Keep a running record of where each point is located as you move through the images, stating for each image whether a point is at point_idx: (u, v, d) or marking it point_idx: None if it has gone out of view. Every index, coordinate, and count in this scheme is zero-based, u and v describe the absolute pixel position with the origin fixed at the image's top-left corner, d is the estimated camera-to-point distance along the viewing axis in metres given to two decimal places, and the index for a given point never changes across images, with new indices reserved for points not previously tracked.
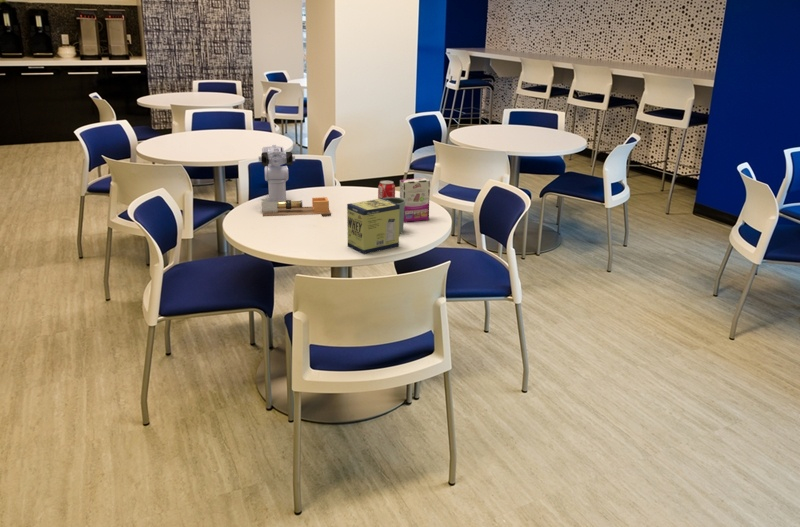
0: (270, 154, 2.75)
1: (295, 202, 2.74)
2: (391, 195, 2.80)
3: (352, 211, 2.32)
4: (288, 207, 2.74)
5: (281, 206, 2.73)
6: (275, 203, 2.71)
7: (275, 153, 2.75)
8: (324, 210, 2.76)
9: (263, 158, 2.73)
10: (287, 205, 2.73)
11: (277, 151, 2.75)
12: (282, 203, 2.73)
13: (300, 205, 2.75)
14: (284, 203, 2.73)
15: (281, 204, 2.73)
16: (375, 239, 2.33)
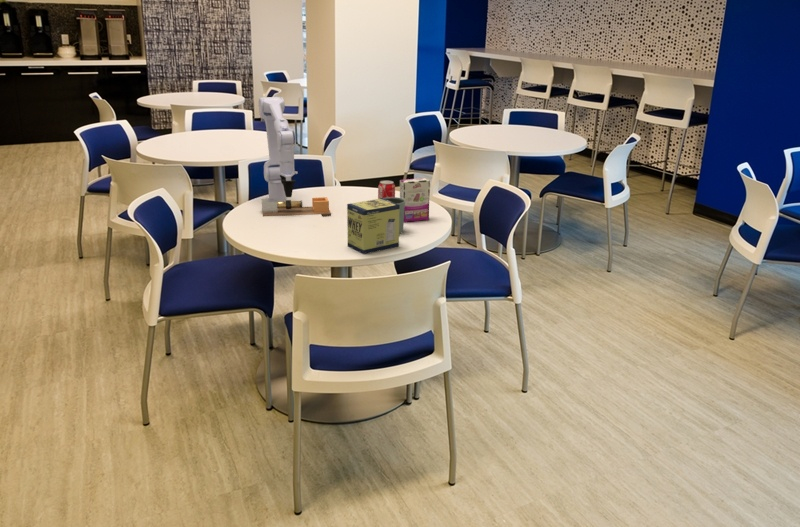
0: None
1: (295, 202, 2.74)
2: (391, 195, 2.80)
3: (352, 211, 2.32)
4: (288, 207, 2.74)
5: (281, 206, 2.73)
6: (275, 203, 2.71)
7: None
8: (324, 210, 2.76)
9: None
10: (287, 205, 2.73)
11: None
12: (282, 203, 2.73)
13: (300, 205, 2.75)
14: (284, 203, 2.73)
15: (281, 204, 2.73)
16: (375, 239, 2.33)
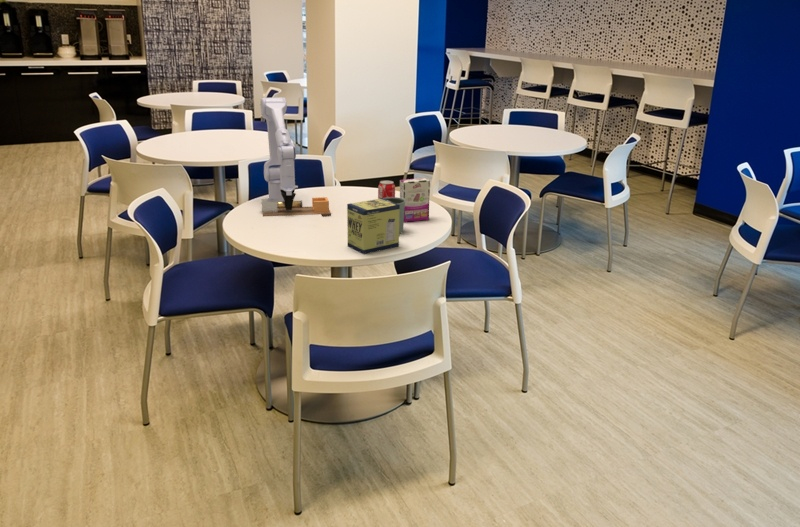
0: (292, 189, 2.71)
1: (295, 202, 2.74)
2: (391, 195, 2.80)
3: (352, 211, 2.32)
4: None
5: (281, 206, 2.73)
6: (275, 203, 2.71)
7: None
8: (324, 210, 2.76)
9: None
10: None
11: None
12: (282, 203, 2.73)
13: (300, 205, 2.75)
14: (284, 203, 2.73)
15: (281, 204, 2.73)
16: (375, 239, 2.33)
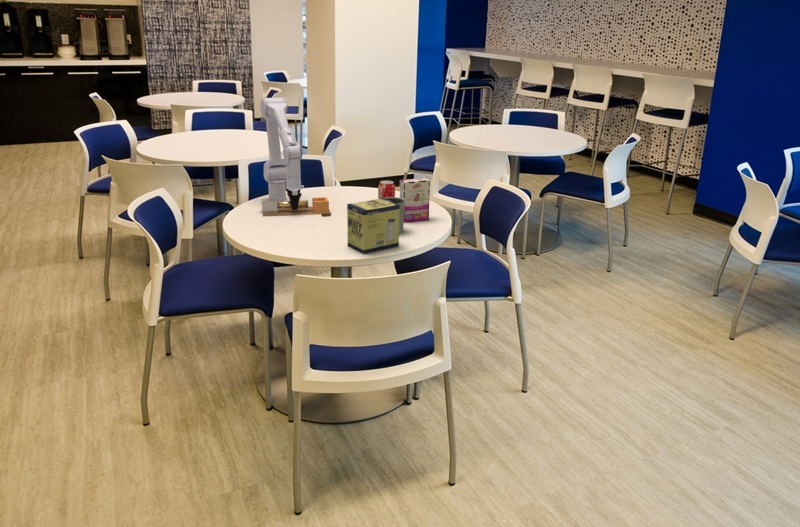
0: None
1: (301, 202, 2.75)
2: (391, 195, 2.80)
3: (352, 211, 2.32)
4: None
5: (287, 206, 2.74)
6: (275, 203, 2.71)
7: None
8: (324, 210, 2.76)
9: None
10: None
11: None
12: (288, 203, 2.74)
13: (306, 205, 2.75)
14: (290, 203, 2.74)
15: (287, 204, 2.74)
16: (375, 239, 2.33)
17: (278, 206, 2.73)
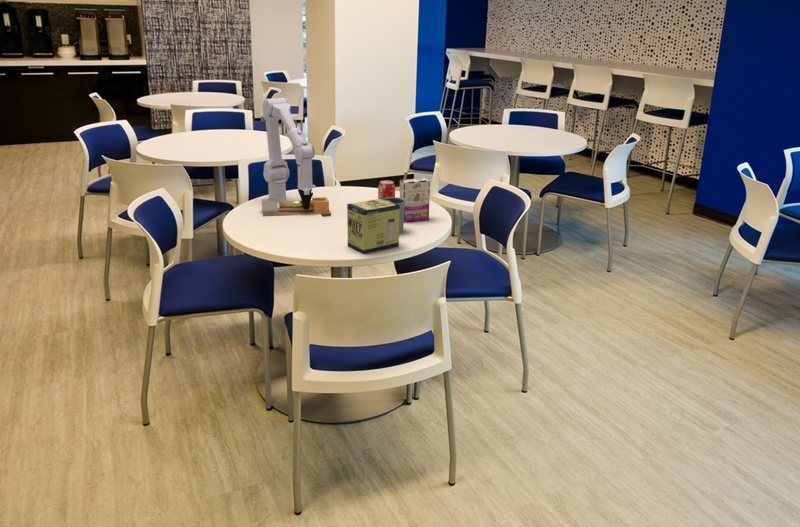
0: None
1: (312, 201, 2.76)
2: (391, 195, 2.80)
3: (352, 211, 2.32)
4: None
5: (298, 205, 2.75)
6: (275, 203, 2.71)
7: None
8: (324, 210, 2.76)
9: None
10: None
11: None
12: (299, 202, 2.75)
13: None
14: (301, 202, 2.75)
15: (298, 204, 2.74)
16: (375, 239, 2.33)
17: (289, 206, 2.74)
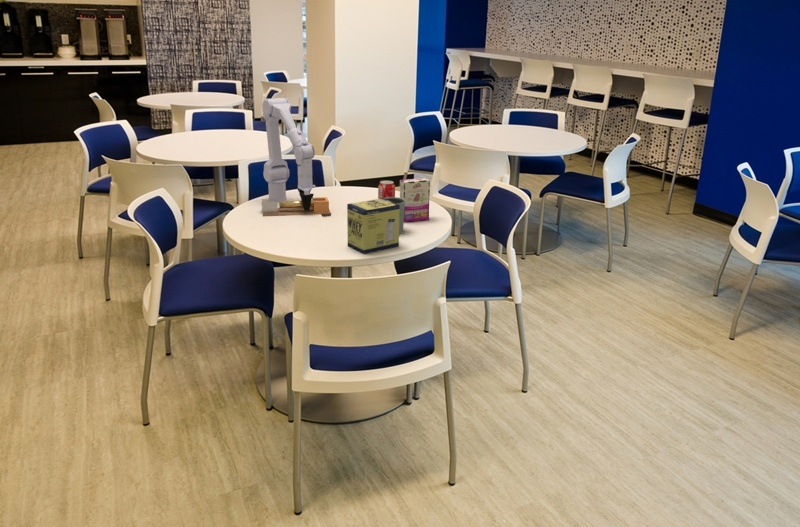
0: None
1: (312, 201, 2.76)
2: (391, 195, 2.80)
3: (352, 211, 2.32)
4: None
5: (298, 205, 2.75)
6: (275, 203, 2.71)
7: None
8: (324, 210, 2.76)
9: None
10: None
11: None
12: (300, 202, 2.75)
13: None
14: (301, 202, 2.75)
15: (298, 204, 2.74)
16: (375, 239, 2.33)
17: (290, 206, 2.74)
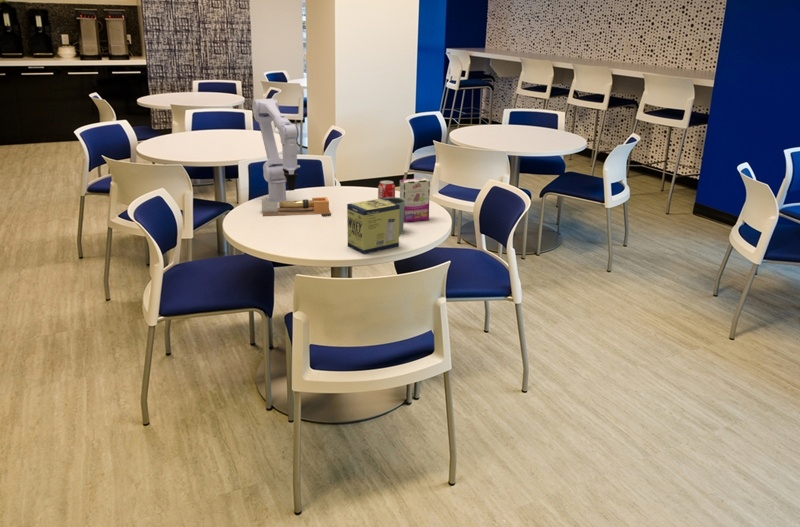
0: (294, 169, 2.73)
1: (312, 201, 2.76)
2: (391, 195, 2.80)
3: (352, 211, 2.32)
4: (305, 206, 2.75)
5: (298, 205, 2.75)
6: (275, 203, 2.71)
7: (295, 167, 2.75)
8: (324, 210, 2.76)
9: None
10: (304, 204, 2.75)
11: None
12: (300, 202, 2.75)
13: None
14: (301, 202, 2.75)
15: (298, 204, 2.74)
16: (375, 239, 2.33)
17: (290, 206, 2.74)
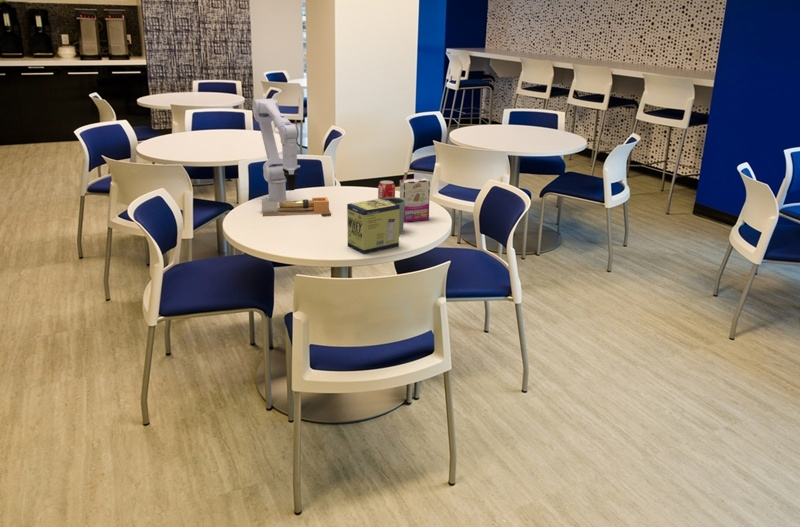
0: (294, 169, 2.73)
1: (312, 201, 2.76)
2: (391, 195, 2.80)
3: (352, 211, 2.32)
4: (305, 206, 2.75)
5: (298, 205, 2.75)
6: (275, 203, 2.71)
7: (295, 167, 2.75)
8: (324, 210, 2.76)
9: None
10: (304, 204, 2.75)
11: None
12: (300, 202, 2.75)
13: None
14: (301, 202, 2.75)
15: (298, 204, 2.74)
16: (375, 239, 2.33)
17: (290, 206, 2.74)
